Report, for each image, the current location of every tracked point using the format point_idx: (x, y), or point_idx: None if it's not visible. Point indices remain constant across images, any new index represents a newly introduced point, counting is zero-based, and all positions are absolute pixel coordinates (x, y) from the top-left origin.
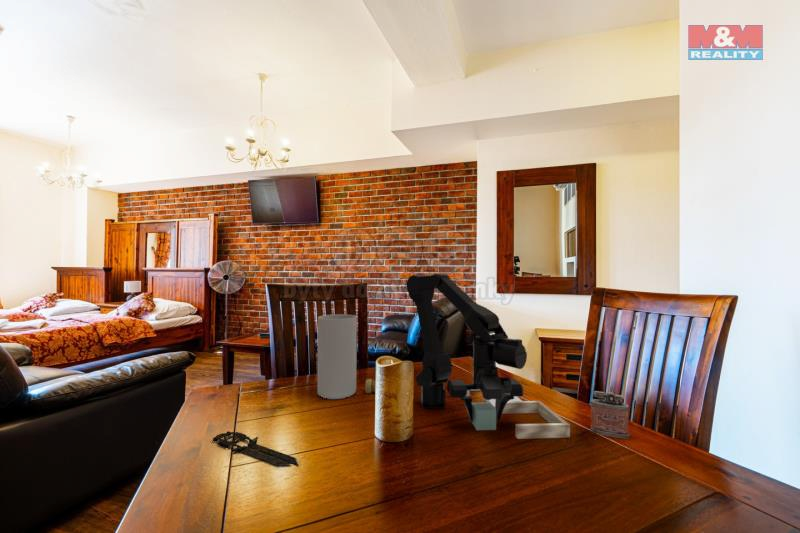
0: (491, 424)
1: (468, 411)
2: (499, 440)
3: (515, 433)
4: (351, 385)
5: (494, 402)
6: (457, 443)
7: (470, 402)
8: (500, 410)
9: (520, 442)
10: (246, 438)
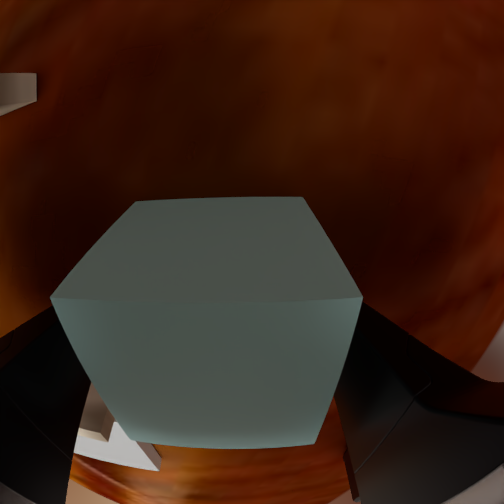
0: (161, 214)
1: (400, 328)
2: (162, 25)
3: (22, 100)
4: None
5: (121, 443)
6: (473, 47)
7: (453, 403)
8: (36, 328)
9: (37, 32)
10: None
